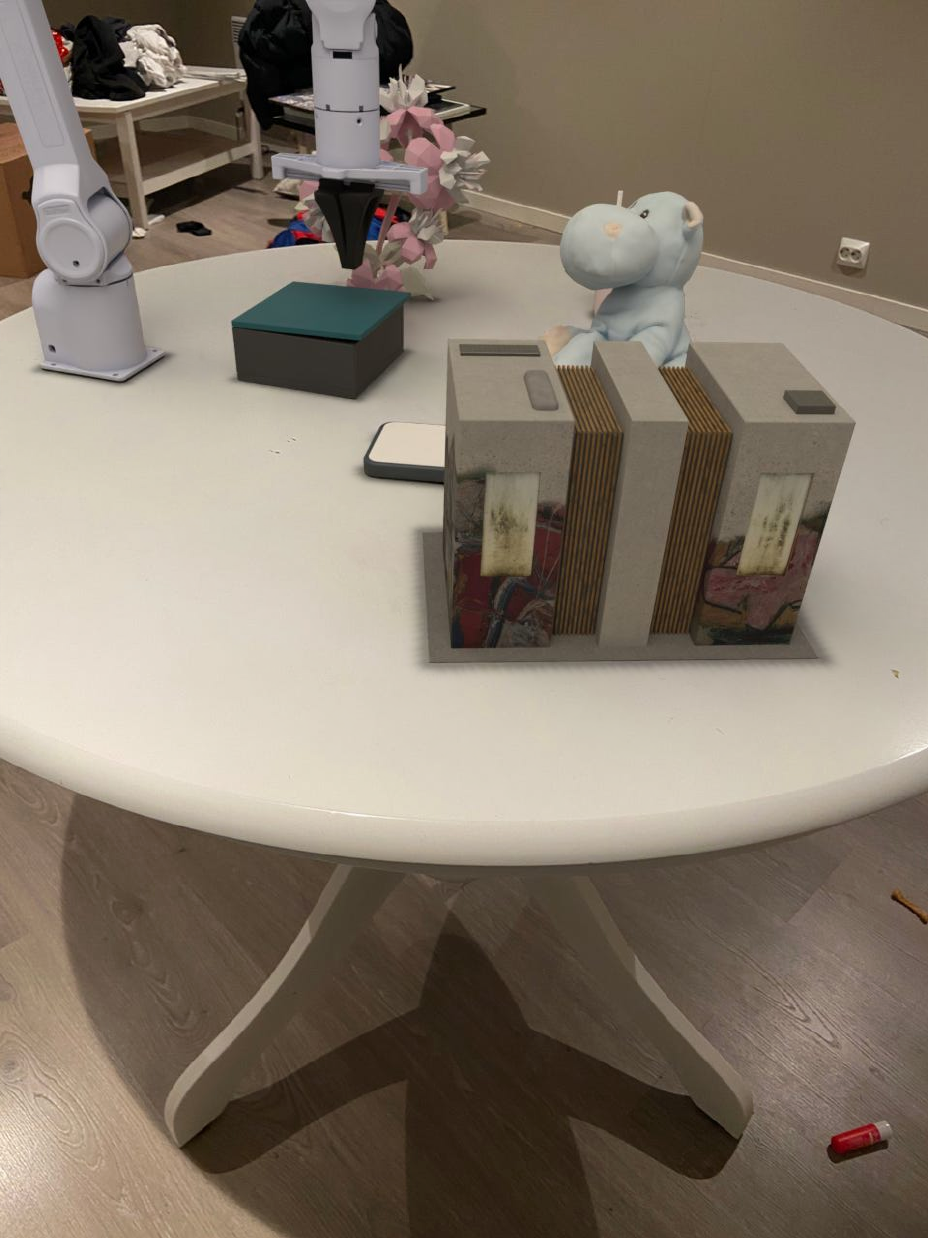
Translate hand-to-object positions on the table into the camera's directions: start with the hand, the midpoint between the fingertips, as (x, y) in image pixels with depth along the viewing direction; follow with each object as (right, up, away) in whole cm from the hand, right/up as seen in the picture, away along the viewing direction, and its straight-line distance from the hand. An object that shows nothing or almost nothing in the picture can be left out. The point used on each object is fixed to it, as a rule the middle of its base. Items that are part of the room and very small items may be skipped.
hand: (352, 266), depth 92 cm
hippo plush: (+28, -11, +5) cm, 30 cm away
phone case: (+11, -21, -10) cm, 25 cm away
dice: (-2, -8, +6) cm, 10 cm away
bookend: (+21, -32, -25) cm, 45 cm away
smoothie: (+28, +2, +23) cm, 36 cm away
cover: (-3, -3, +3) cm, 6 cm away
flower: (+2, +2, +21) cm, 21 cm away
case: (-4, -8, +7) cm, 11 cm away
